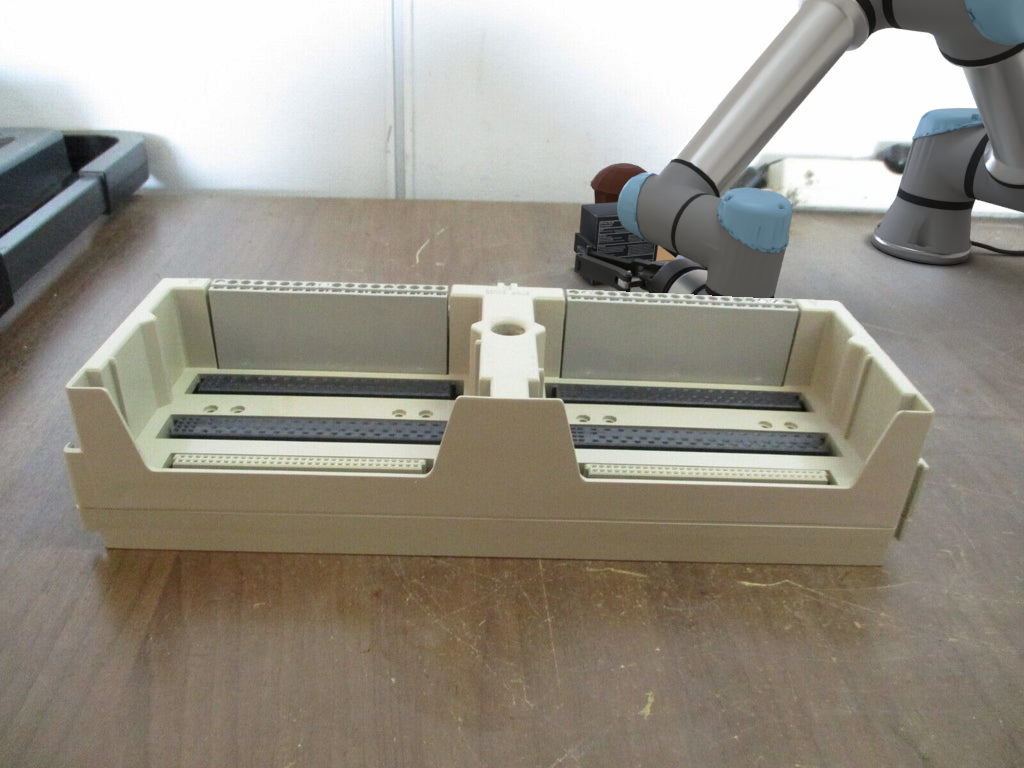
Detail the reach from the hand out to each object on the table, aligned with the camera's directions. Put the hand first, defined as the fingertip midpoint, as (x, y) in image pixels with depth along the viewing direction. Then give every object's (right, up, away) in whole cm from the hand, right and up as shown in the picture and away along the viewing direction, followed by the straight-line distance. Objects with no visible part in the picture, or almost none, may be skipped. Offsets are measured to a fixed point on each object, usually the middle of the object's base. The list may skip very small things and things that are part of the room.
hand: (619, 238), depth 113 cm
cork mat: (+10, +1, +15) cm, 18 cm away
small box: (0, -5, +3) cm, 6 cm away
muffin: (+3, +8, +25) cm, 27 cm away
